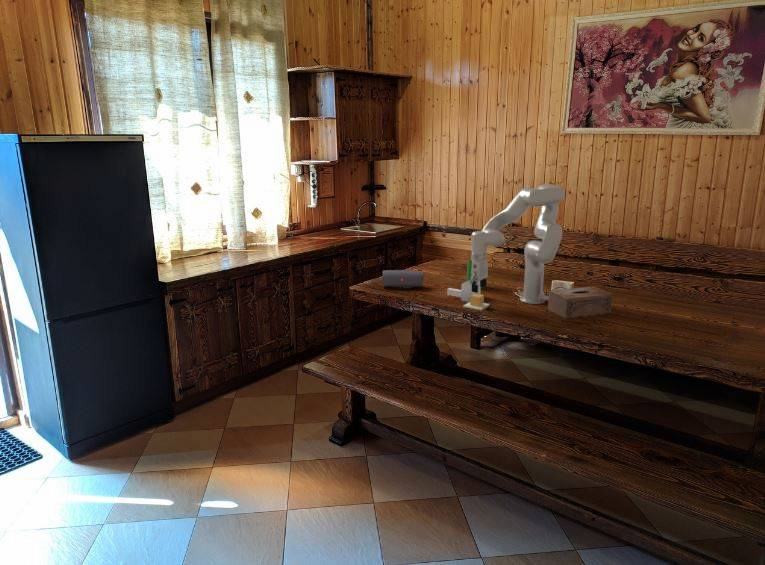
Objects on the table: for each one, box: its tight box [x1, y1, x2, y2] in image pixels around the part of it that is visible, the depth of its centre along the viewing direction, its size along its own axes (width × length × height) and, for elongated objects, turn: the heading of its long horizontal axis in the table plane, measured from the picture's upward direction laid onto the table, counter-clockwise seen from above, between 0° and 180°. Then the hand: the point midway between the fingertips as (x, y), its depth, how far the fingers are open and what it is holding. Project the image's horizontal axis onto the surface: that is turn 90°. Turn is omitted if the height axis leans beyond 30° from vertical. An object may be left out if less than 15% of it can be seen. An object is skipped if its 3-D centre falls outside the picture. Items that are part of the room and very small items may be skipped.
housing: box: [460, 280, 482, 303], centre depth 289 cm, size 5×13×9 cm, turn 145°
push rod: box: [446, 287, 475, 298], centre depth 293 cm, size 15×2×4 cm, turn 56°
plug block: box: [470, 293, 485, 307], centre depth 275 cm, size 5×5×5 cm
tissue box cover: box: [547, 286, 614, 319], centre depth 267 cm, size 26×14×10 cm, turn 107°
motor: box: [466, 258, 485, 290], centre depth 309 cm, size 10×9×20 cm
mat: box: [462, 302, 491, 311], centre depth 276 cm, size 10×10×1 cm
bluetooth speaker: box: [381, 269, 424, 289], centre depth 310 cm, size 23×9×10 cm, turn 83°
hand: (479, 289), depth 274 cm, fingers open, 9 cm apart
